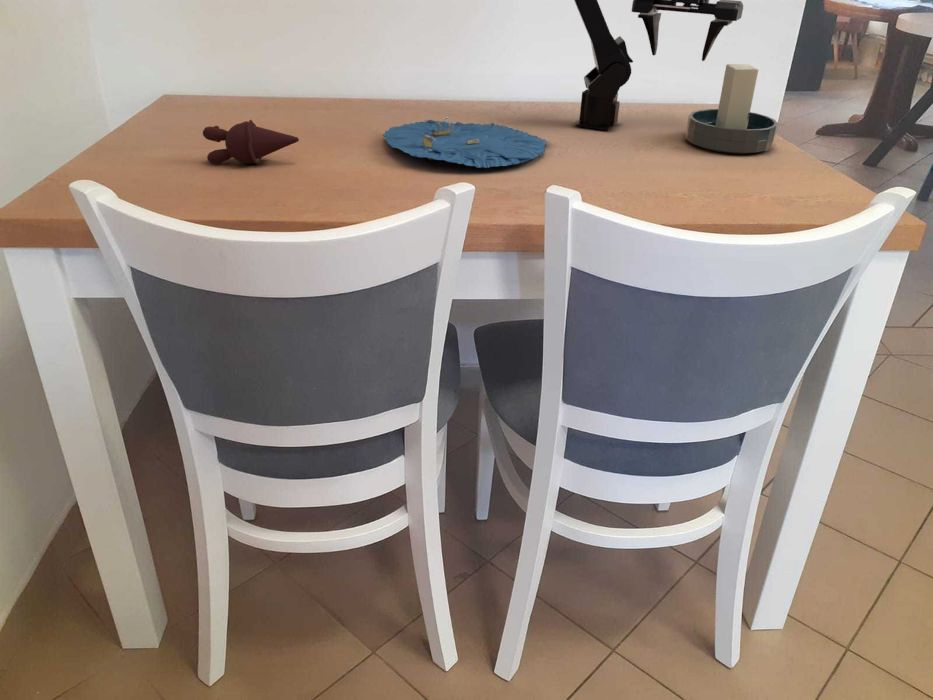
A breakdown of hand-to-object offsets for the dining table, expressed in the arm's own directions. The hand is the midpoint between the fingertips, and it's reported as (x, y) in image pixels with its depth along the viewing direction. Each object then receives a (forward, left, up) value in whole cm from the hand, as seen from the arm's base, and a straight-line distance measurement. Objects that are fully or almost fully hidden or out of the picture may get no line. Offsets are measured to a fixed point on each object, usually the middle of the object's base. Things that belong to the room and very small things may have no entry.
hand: (678, 57), depth 137 cm
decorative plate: (-29, -33, -13) cm, 45 cm away
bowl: (+12, -6, -13) cm, 19 cm away
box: (+12, -6, -13) cm, 18 cm away
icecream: (-54, -58, -13) cm, 80 cm away
